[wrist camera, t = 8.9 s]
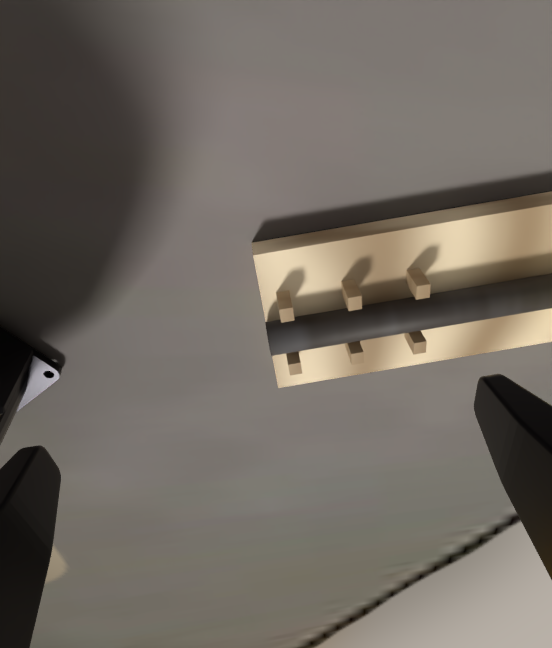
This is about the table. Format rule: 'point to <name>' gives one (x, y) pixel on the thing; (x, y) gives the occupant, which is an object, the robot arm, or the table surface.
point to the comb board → (408, 289)
